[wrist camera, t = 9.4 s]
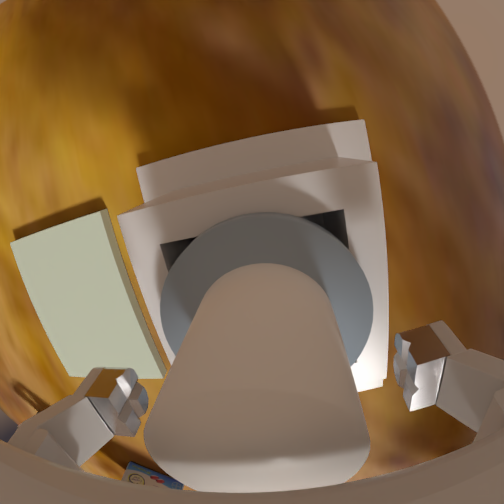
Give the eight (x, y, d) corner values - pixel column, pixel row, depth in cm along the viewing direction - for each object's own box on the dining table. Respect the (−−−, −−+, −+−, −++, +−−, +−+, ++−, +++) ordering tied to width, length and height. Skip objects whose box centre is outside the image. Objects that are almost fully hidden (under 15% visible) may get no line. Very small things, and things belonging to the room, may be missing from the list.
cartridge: (341, 299, 19) (406, 496, 6) (222, 319, 20) (165, 512, 7) (324, 176, 17) (463, 263, 4) (191, 202, 18) (24, 328, 5)
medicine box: (185, 481, 31) (172, 533, 23) (177, 491, 32) (164, 538, 24) (129, 459, 30) (108, 509, 22) (125, 470, 32) (107, 516, 24)
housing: (379, 378, 23) (408, 464, 14) (218, 401, 24) (198, 488, 16) (359, 120, 17) (429, 100, 8) (142, 166, 18) (51, 186, 10)
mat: (166, 370, 24) (163, 378, 23) (74, 370, 25) (69, 376, 24) (107, 208, 20) (99, 211, 19) (17, 239, 21) (10, 242, 20)
